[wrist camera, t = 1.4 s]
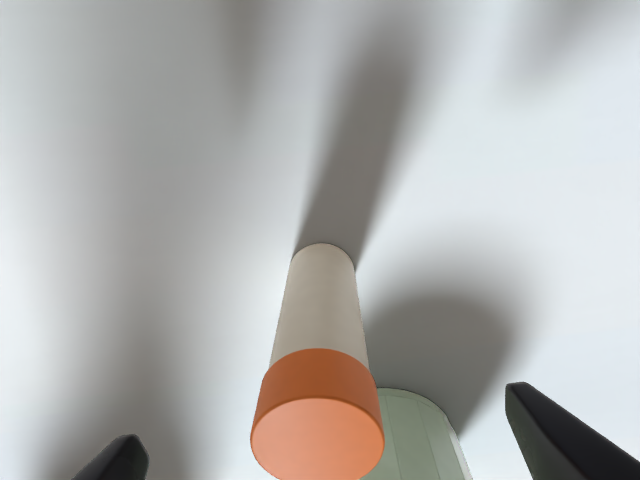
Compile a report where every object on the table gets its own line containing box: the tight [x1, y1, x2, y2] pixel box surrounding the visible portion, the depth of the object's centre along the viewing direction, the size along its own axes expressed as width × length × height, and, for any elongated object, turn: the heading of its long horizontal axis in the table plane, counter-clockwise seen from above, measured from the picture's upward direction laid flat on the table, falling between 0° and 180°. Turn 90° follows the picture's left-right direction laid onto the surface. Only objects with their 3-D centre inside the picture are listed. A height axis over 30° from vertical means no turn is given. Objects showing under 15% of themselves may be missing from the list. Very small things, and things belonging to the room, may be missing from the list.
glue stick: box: [250, 243, 385, 480], centre depth 11 cm, size 3×3×8 cm
